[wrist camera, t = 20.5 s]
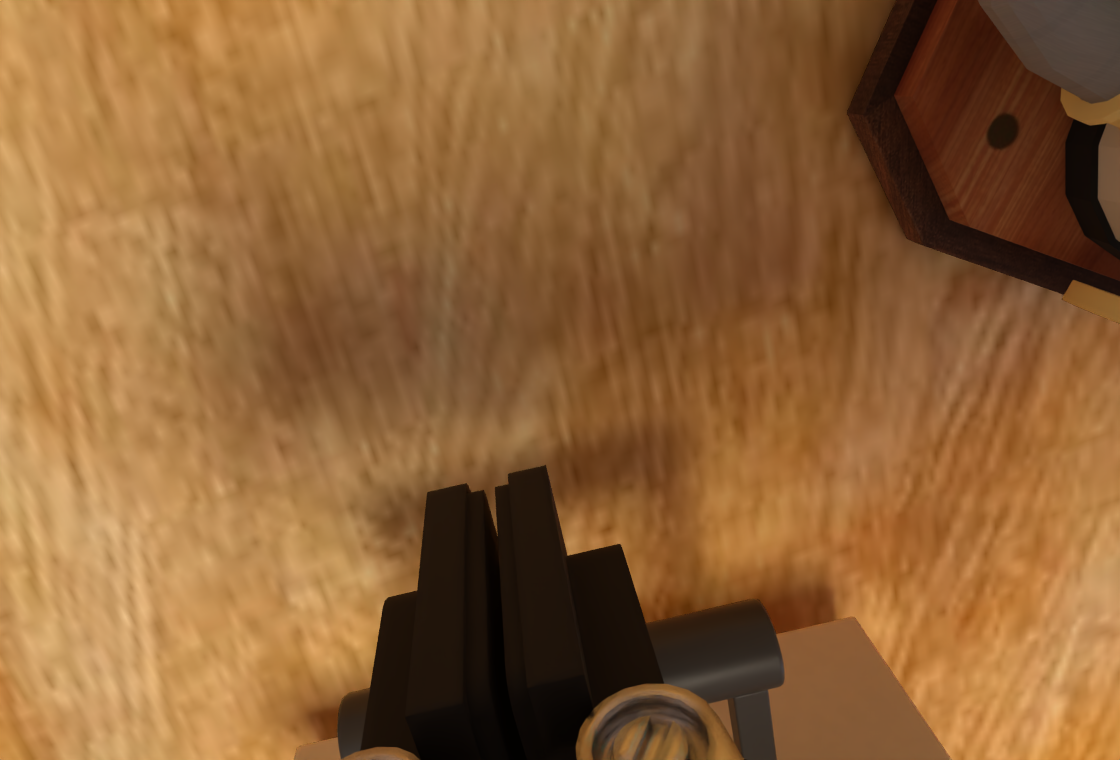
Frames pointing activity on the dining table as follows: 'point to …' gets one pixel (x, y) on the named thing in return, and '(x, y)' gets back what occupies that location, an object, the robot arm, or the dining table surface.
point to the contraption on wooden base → (1003, 137)
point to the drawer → (760, 689)
